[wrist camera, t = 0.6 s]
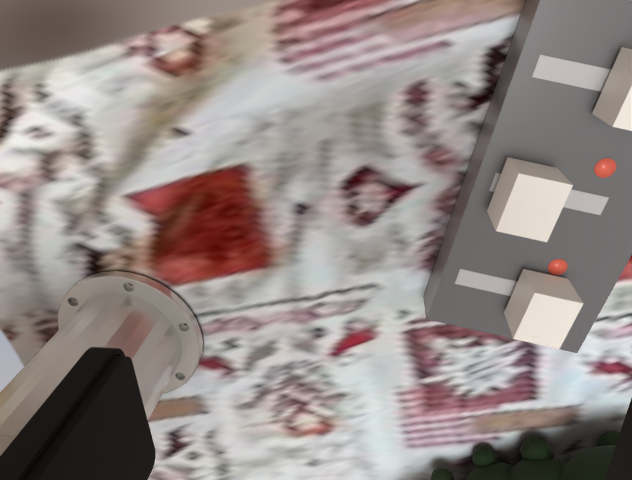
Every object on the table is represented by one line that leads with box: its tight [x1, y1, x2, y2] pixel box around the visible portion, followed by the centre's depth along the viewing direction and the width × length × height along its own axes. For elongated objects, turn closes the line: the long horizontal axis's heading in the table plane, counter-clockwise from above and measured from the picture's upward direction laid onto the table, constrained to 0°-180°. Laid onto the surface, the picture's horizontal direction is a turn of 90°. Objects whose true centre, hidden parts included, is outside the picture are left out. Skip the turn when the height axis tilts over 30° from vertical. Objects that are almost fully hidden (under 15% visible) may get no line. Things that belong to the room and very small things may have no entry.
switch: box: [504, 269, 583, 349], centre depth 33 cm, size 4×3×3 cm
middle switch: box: [487, 157, 573, 242], centre depth 30 cm, size 4×3×3 cm
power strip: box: [424, 0, 632, 353], centre depth 33 cm, size 22×11×3 cm, turn 170°
